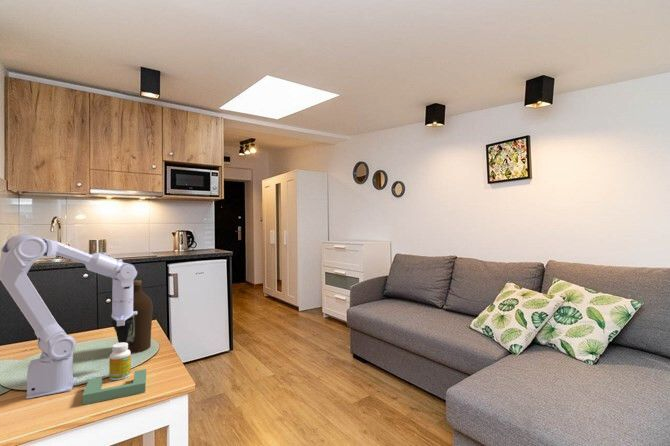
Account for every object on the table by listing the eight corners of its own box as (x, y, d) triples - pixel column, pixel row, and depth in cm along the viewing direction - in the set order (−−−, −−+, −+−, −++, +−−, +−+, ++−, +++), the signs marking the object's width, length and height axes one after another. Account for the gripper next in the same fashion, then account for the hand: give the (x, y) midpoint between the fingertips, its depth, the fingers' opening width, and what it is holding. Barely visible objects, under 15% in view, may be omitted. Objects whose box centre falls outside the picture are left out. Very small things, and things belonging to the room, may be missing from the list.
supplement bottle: (122, 381, 96) (123, 348, 96) (104, 380, 96) (105, 348, 96) (134, 372, 102) (134, 341, 102) (117, 372, 102) (117, 341, 102)
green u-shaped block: (82, 405, 84) (82, 395, 84) (89, 387, 92) (89, 379, 92) (145, 391, 91) (145, 383, 91) (146, 377, 99) (146, 368, 99)
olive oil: (136, 341, 126) (137, 277, 126) (159, 345, 123) (159, 279, 123) (111, 352, 116) (112, 282, 116) (134, 356, 113) (135, 284, 113)
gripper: (136, 303, 101) (135, 347, 101) (138, 293, 114) (138, 332, 114) (108, 306, 97) (108, 351, 98) (114, 295, 110) (113, 335, 110)
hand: (122, 341), depth 106 cm, fingers closed
